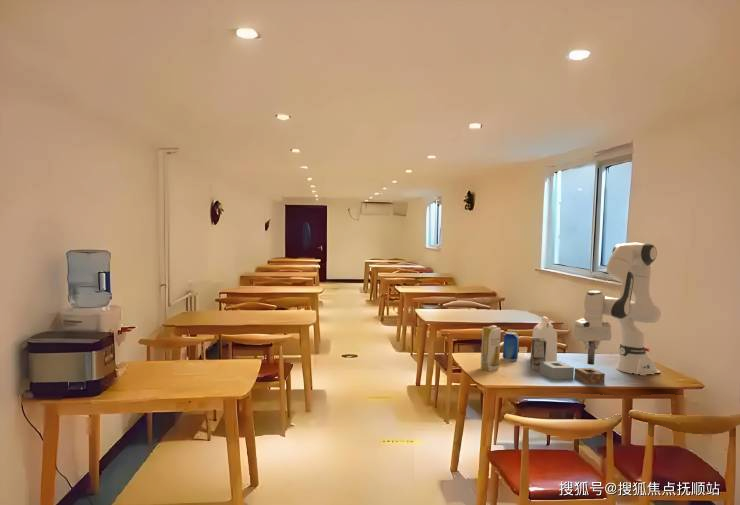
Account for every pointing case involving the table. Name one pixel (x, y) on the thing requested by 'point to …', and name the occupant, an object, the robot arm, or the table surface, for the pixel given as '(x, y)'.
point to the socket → (556, 370)
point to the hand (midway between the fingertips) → (591, 349)
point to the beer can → (510, 346)
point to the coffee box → (537, 352)
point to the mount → (589, 375)
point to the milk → (547, 338)
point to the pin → (591, 352)
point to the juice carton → (490, 348)
